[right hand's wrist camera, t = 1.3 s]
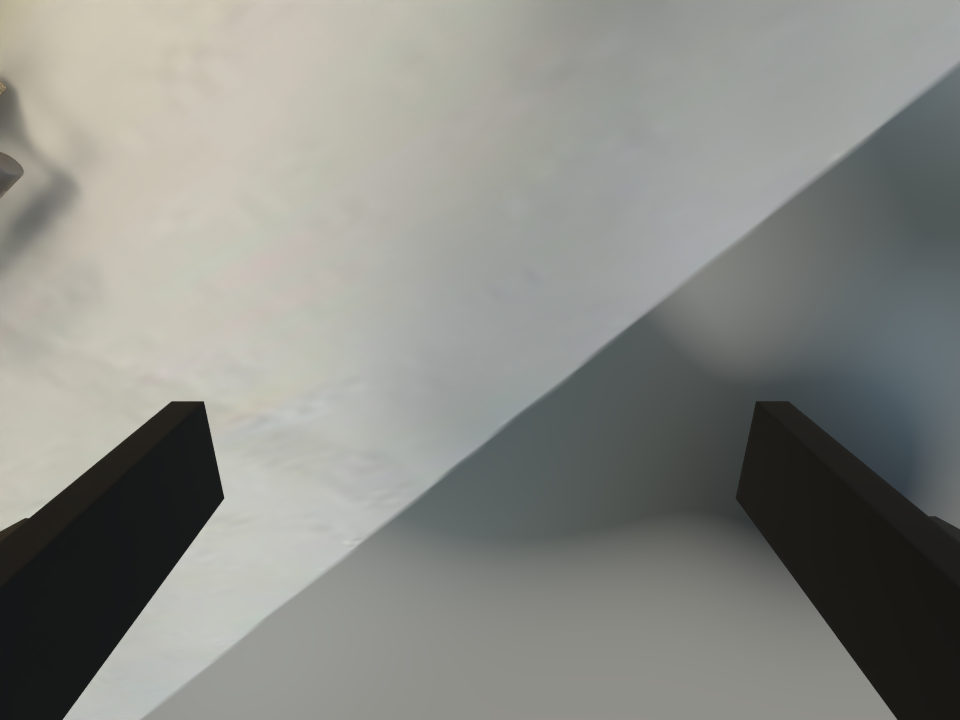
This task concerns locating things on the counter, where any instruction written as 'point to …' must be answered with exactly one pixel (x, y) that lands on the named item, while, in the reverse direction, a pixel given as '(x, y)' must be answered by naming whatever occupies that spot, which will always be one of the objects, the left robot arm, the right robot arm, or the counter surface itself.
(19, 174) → the drawer
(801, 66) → the counter surface
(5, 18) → the counter surface
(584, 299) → the counter surface
